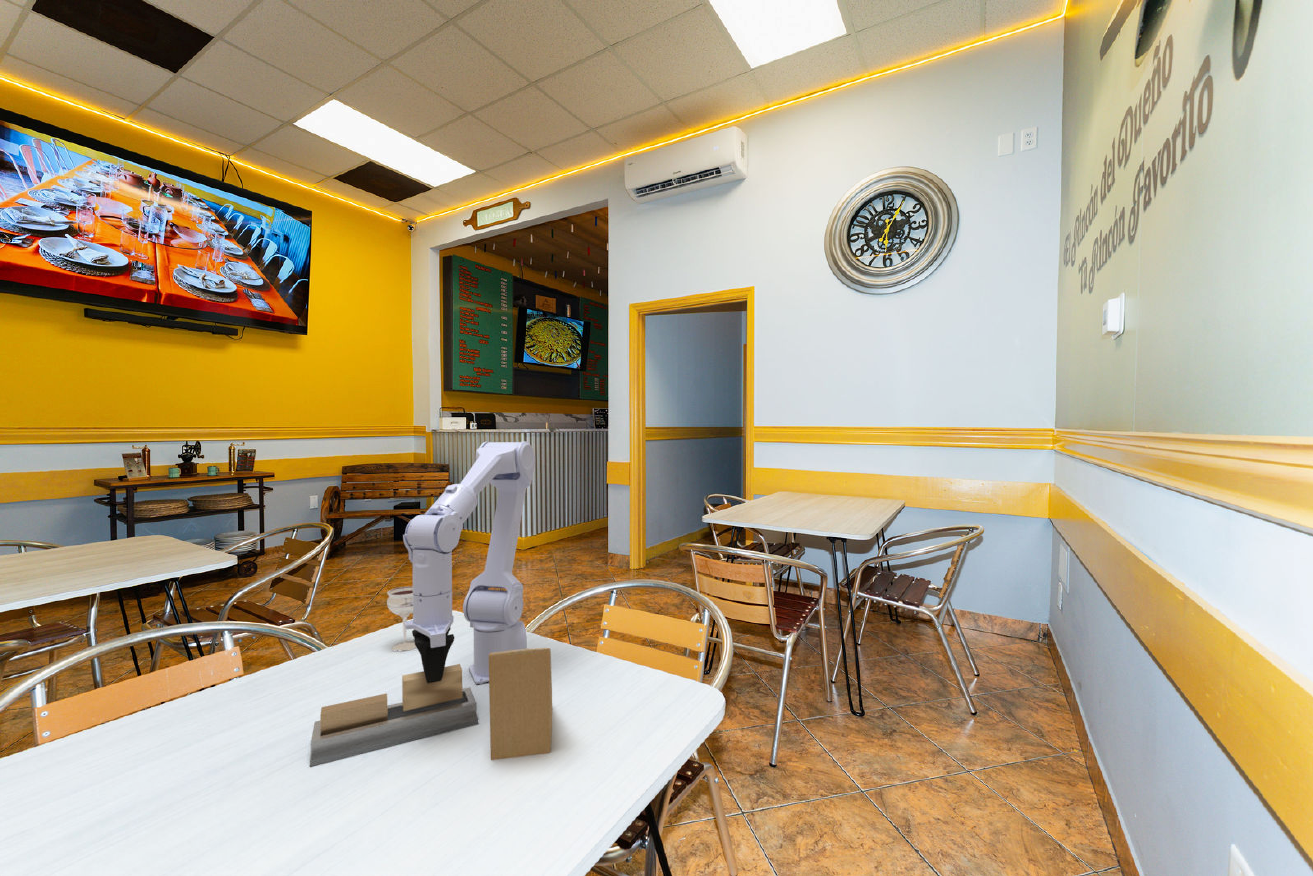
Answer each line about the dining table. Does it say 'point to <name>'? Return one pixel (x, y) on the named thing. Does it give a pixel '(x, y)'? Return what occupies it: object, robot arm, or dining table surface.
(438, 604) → the robot arm
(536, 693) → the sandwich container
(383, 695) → the track
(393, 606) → the wineglass
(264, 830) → the dining table surface
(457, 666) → the tan rectangular block
